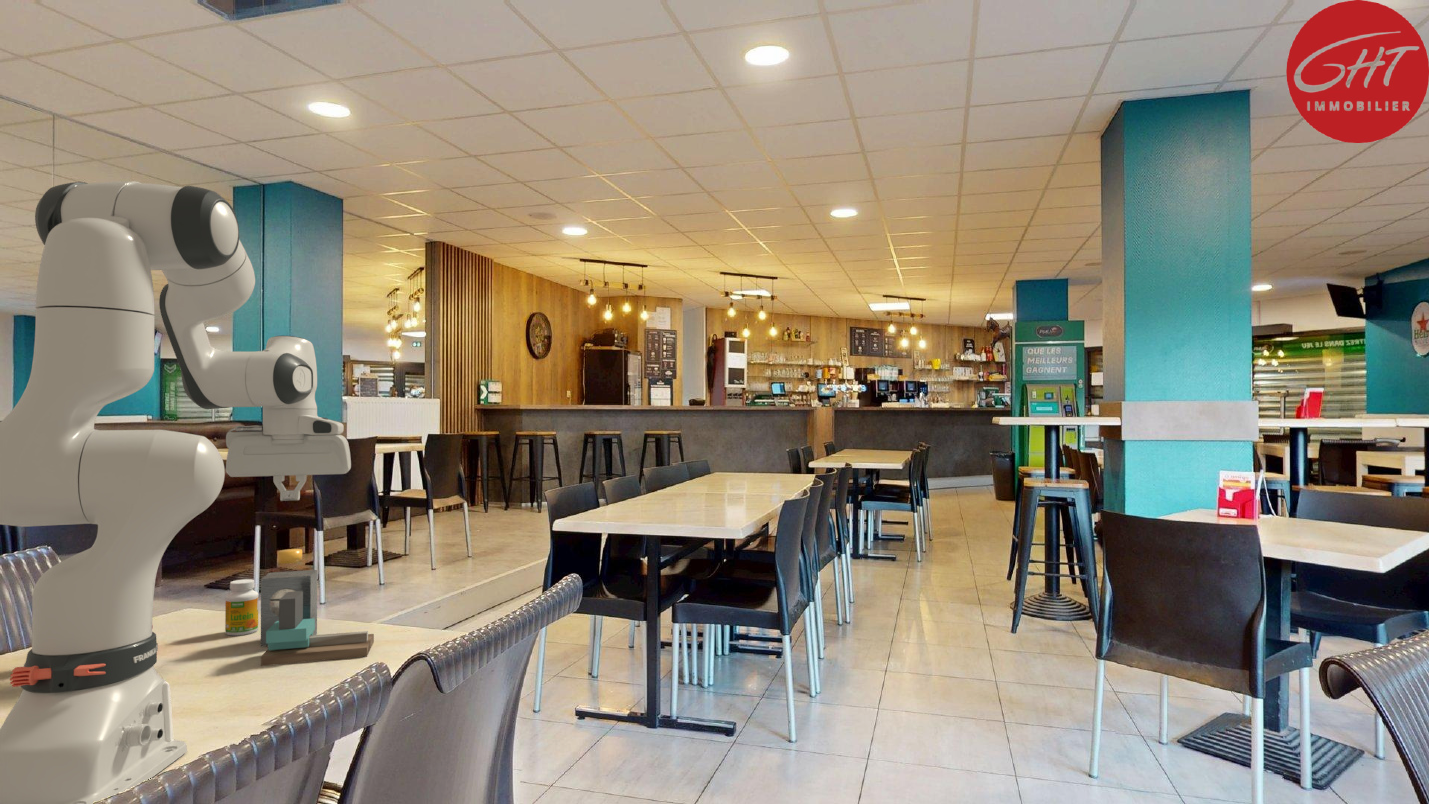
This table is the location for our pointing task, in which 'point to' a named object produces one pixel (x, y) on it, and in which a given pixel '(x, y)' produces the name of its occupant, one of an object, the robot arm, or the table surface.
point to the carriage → (290, 624)
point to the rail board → (323, 649)
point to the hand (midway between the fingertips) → (290, 500)
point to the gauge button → (289, 556)
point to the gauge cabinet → (277, 587)
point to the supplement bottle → (241, 608)
